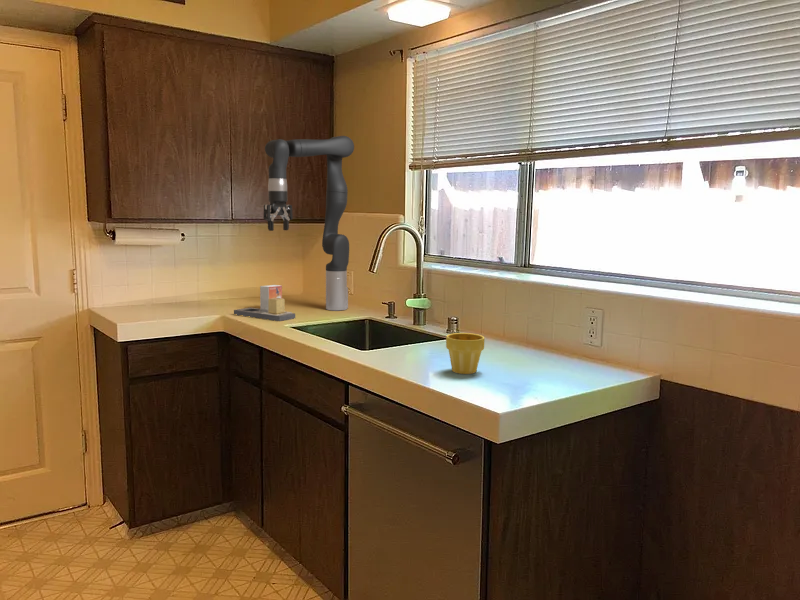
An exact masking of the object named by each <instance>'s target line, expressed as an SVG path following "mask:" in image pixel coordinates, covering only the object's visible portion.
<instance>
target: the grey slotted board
mask: <svg viewBox="0 0 800 600" xmlns="http://www.w3.org/2000/svg"><path fill="white" fill-rule="evenodd" d="M234 314H237V315H236V316H239V315H243V316H242V317H246V316H250V317H249V318H253V317H256V318H255V319H260V318H262V320H267V319H269V321H274V320H275V322H282V321H288V320H294V318H295V319H296V313H294V312H292V311H286V310H285V313H281V314H271V313H269V311H268V310H265V309H260V308H257V307H256V308H255V307H245V308H237V309H233V315H234Z"/></svg>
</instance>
